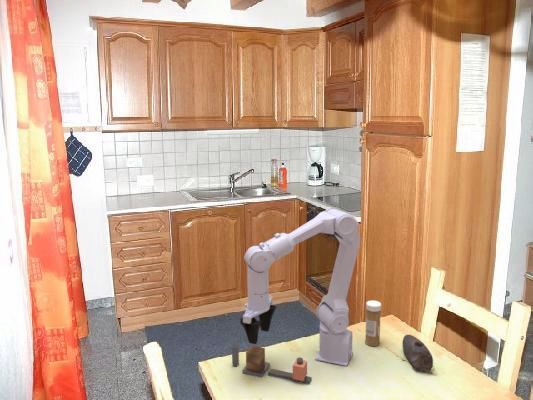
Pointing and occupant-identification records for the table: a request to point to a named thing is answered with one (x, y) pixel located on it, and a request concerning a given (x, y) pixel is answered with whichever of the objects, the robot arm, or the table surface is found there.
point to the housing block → (255, 358)
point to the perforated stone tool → (417, 353)
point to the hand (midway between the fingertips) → (259, 336)
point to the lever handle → (299, 369)
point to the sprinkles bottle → (373, 323)
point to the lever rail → (287, 376)
